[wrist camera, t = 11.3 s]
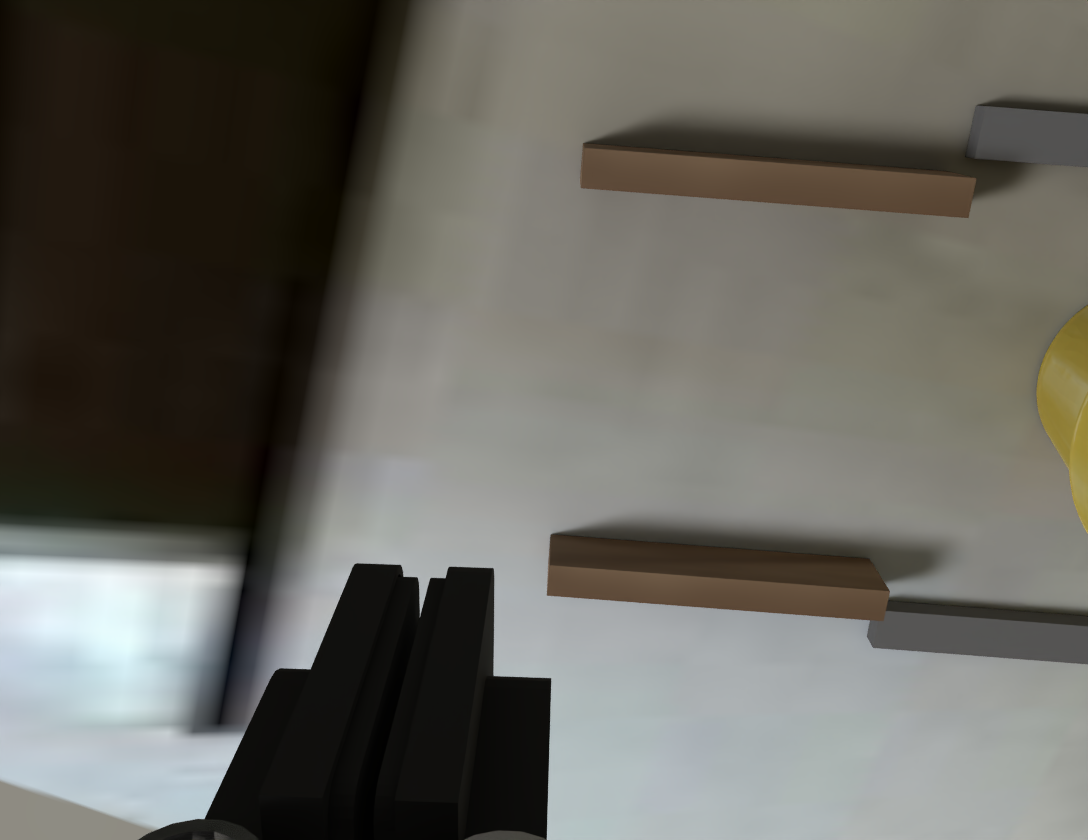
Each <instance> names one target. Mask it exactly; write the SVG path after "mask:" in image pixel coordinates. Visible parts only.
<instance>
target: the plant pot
mask: <svg viewBox="0 0 1088 840" xmlns="http://www.w3.org/2000/svg"><path fill="white" fill-rule="evenodd" d="M1037 405H1038V411H1039V415H1040V418H1041V421H1042V424H1043V426H1044V428H1045V430H1046V432H1047V434H1048V436H1049V438H1050V439H1051V441H1052V443H1053V444H1054V446H1055V448H1056V449H1057V451H1058V453H1059V454H1060V456H1061V458H1062V459H1063V461H1064V463H1065V464H1066V466H1067V468H1068V469H1069V475H1070V484H1071V490H1072V495H1073V500H1074V504H1075V506H1076V509H1077V512H1078V515H1079V517H1080V520H1081V522H1082V524H1083V526H1084V528H1085V530H1086V532H1087V533H1088V305H1087V306H1086V307H1084V308H1083V309H1081V310H1080V311H1079V312H1078V313H1077V314H1075V315H1074V316H1073V317H1072V318H1071V319H1070V320H1069V321H1068V322H1067V323H1066V324H1065V325H1064V326H1063V328H1062V329H1061V330H1060V331H1059V333H1058V334H1057V335H1056V337H1055V338H1054V340H1053V341H1052V343H1051V345H1050V346H1049V348H1048V350H1047V352H1046V354H1045V356H1044V359H1043V362H1042V364H1041V367H1040V371H1039V375H1038V382H1037Z"/></svg>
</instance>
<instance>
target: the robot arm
mask: <svg viewBox="0 0 1088 840" xmlns="http://www.w3.org/2000/svg"><path fill="white" fill-rule="evenodd" d="M493 657H494V569H493V568H471V567H449V568H448V571H447V575H446V578H431V579H430V581H429V585H428V589H427V593H426V597H425V600H424V604H423V608H422V612H421V616H420V607H419V582H418V578H417V577H403V570H402V567H401V565H386V564H358V563H357V564H355V565H354V566H353V568H352V571H351V573H350V575H349V578H348V580H347V583H346V585H345V588H344V590H343V592H342V595H341V597H340V600H339V602H338V604H337V607H336V609H335V612H334V614H333V617H332V619H331V621H330V624H329V626H328V629H327V631H326V633H325V636H324V638H323V641H322V643H321V646H320V648H319V650H318V653H317V655H316V658H315V660H314V662H313V665H312V667H311V670H310V669H283V668H280V669H278V670H276V671H275V673H274V674H273V676H272V677H271V679H270V681H269V683H268V685H267V687H266V690H265V692H264V694H263V696H262V698H261V700H260V702H259V704H258V706H257V709H256V711H255V713H254V715H253V717H252V719H251V721H250V723H249V726H248V728H247V730H246V732H245V734H244V736H243V738H242V740H241V743H240V745H239V747H238V749H237V751H236V753H235V755H234V757H233V760H232V762H231V764H230V766H229V768H228V770H227V772H226V774H225V777H224V779H223V781H222V783H221V785H220V787H219V789H218V791H217V794H216V796H215V798H214V800H213V802H212V804H211V806H210V808H209V811H208V813H207V815H206V817H205V819H195V820H190V821H184V822H179V823H173V824H170V825H168V826H165V827H163V828H160V829H158V830H155V831H153V832H151V833H148V834H146V835H145V836H143V837H142V838H140V839H139V840H547V806H548V771H549V737H550V702H551V678H528V677H500V676H493Z"/></svg>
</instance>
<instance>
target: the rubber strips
mask: <svg viewBox="0 0 1088 840" xmlns="http://www.w3.org/2000/svg"><path fill="white" fill-rule="evenodd" d="M965 157H969V158H975V159H987V160H1000V161H1013V162H1026V163H1039V164H1052V165H1065V166H1078V167H1088V114H1080V113H1067V112H1054V111H1041V110H1029V109H1016V108H1003V107H990V106H976V107H975V112H974V117H973V122H972V127H971V132H970V137H969V142H968V146H967V151H966V156H965ZM867 637H868V639H869V641H870V643H871V645H872V647H873V648H882V649H896V650H909V651H922V652H935V653H948V654H961V655H974V656H987V657H1000V658H1013V659H1026V660H1039V661H1052V662H1065V663H1079V664H1088V616H1078V615H1065V614H1052V613H1039V612H1026V611H1012V610H999V609H986V608H973V607H960V606H947V605H934V604H921V603H908V602H895V601H888V603H887V608H886V612H885V617H884V621H874V620H870V624H869V629H868V634H867Z"/></svg>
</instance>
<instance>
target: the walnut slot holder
mask: <svg viewBox="0 0 1088 840" xmlns="http://www.w3.org/2000/svg"><path fill="white" fill-rule="evenodd" d="M976 179H977V178H973V177H969V176H965V175H961V174H957V173H952V172H948V171H938V170H925V169H912V168H899V167H886V166H873V165H860V164H847V163H834V162H821V161H808V160H795V159H782V158H770V157H757V156H744V155H731V154H718V153H705V152H692V151H679V150H666V149H653V148H640V147H627V146H614V145H601V144H589V143H583V152H582V164H581V176H580V184H581V188H587V189H600V190H613V191H626V192H639V193H652V194H665V195H678V196H690V197H703V198H716V199H729V200H742V201H755V202H768V203H781V204H794V205H807V206H820V207H833V208H846V209H859V210H872V211H885V212H898V213H910V214H923V215H936V216H949V217H962V218H968V217H969V212H970V208H971V203H972V198H973V193H974V189H975V184H976ZM889 593H890V591H889V589H888V587H887V586H886V584H885V583H884V581H883V580H882V578H881V576H880V575H879V573H878V572H877V570H876V568H875V567H874V565H873V564H872V562H871V561H870V559H865V558H852V557H839V556H826V555H813V554H799V553H786V552H773V551H760V550H747V549H734V548H721V547H708V546H695V545H682V544H669V543H656V542H643V541H630V540H617V539H604V538H591V537H578V536H565V535H552V534H551V537H550V549H549V561H548V583H547V596H560V597H573V598H586V599H599V600H613V601H626V602H639V603H652V604H665V605H678V606H691V607H704V608H717V609H730V610H743V611H756V612H769V613H782V614H795V615H808V616H821V617H835V618H848V619H861V620H874V621H884V617H885V612H886V608H887V603H888V598H889Z"/></svg>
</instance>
